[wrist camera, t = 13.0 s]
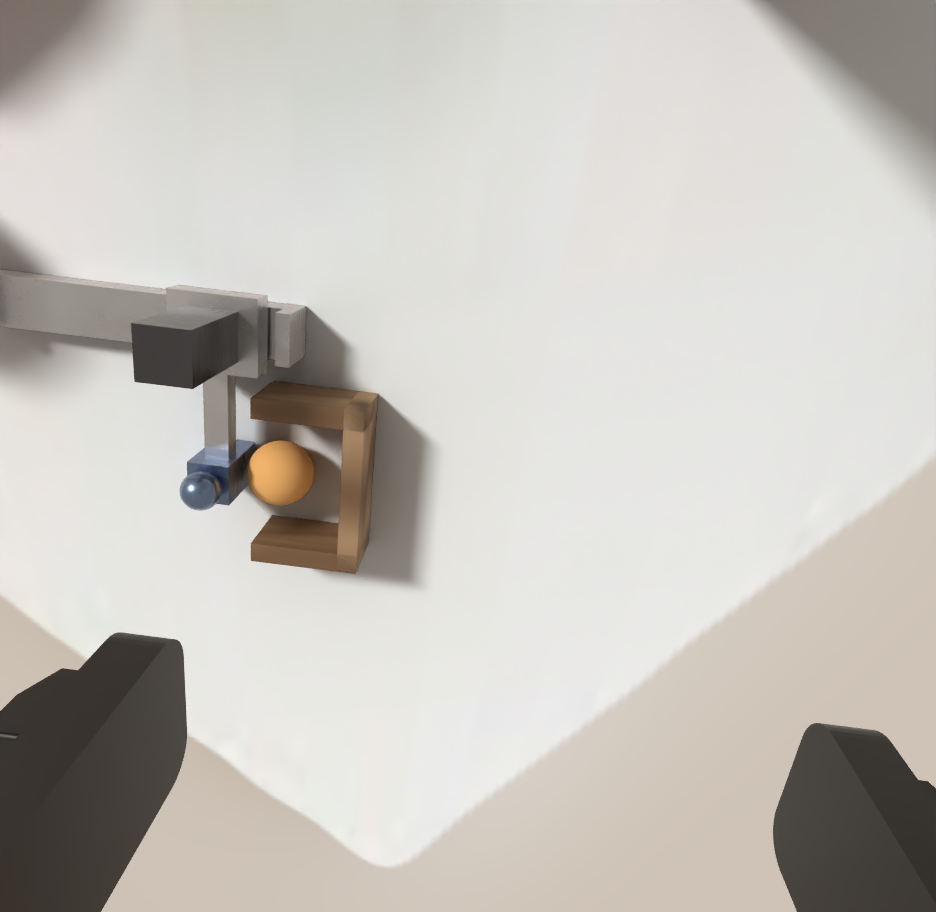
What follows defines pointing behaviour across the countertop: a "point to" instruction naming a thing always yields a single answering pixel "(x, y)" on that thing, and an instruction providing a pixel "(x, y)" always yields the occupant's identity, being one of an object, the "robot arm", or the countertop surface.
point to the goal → (357, 419)
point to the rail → (119, 311)
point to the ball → (280, 473)
